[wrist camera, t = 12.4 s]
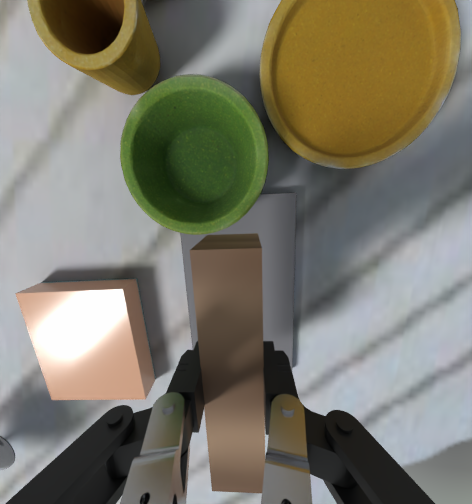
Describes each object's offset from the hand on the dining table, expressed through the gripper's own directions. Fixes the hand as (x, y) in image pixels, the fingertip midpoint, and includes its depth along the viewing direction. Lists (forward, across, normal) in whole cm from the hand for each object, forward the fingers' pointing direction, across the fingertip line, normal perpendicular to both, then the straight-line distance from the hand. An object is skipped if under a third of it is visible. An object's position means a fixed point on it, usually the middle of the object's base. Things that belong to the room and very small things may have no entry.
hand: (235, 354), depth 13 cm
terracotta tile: (+8, +15, -2) cm, 17 cm away
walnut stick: (+2, 0, 0) cm, 2 cm away
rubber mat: (+9, 0, 0) cm, 9 cm away
